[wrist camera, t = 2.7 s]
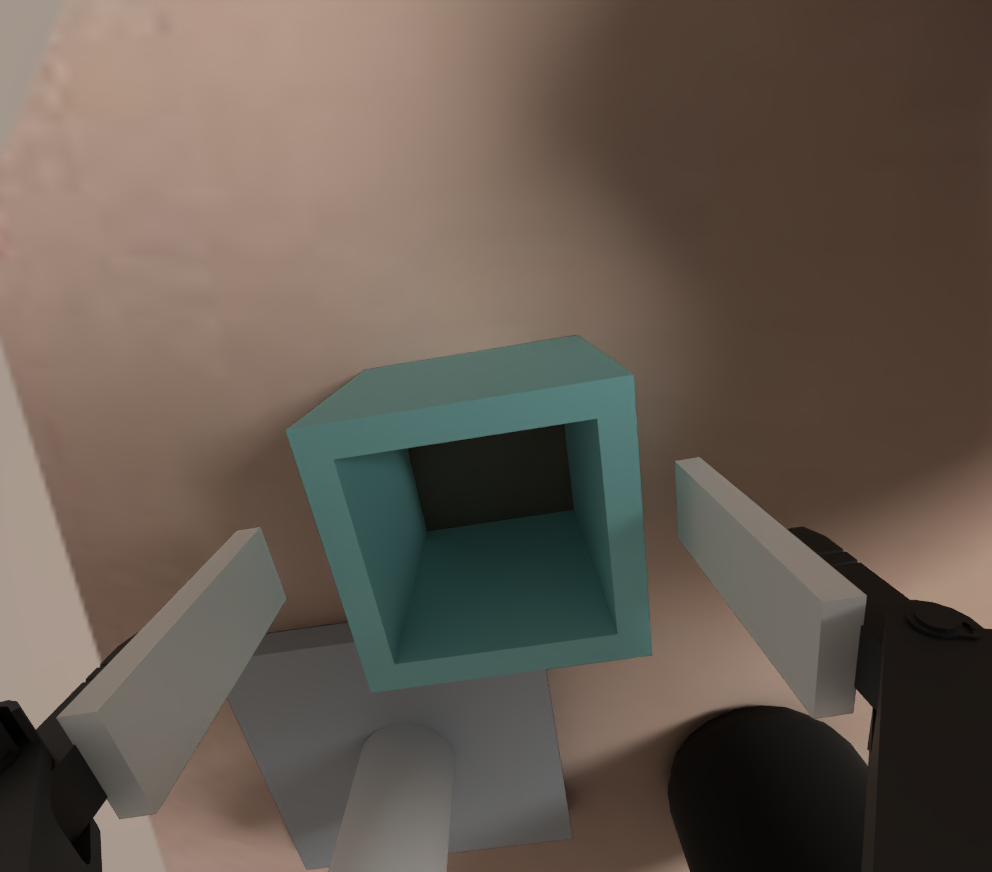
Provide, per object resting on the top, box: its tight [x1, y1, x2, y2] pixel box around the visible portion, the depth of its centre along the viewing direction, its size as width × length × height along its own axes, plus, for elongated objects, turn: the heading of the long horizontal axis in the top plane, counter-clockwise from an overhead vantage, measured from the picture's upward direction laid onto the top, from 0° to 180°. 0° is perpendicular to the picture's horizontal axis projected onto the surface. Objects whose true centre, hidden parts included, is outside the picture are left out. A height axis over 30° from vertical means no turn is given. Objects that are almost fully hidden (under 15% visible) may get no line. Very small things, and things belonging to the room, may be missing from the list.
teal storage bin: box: [286, 335, 652, 693], centre depth 17 cm, size 9×9×8 cm
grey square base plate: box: [227, 622, 573, 872], centre depth 21 cm, size 16×16×12 cm
